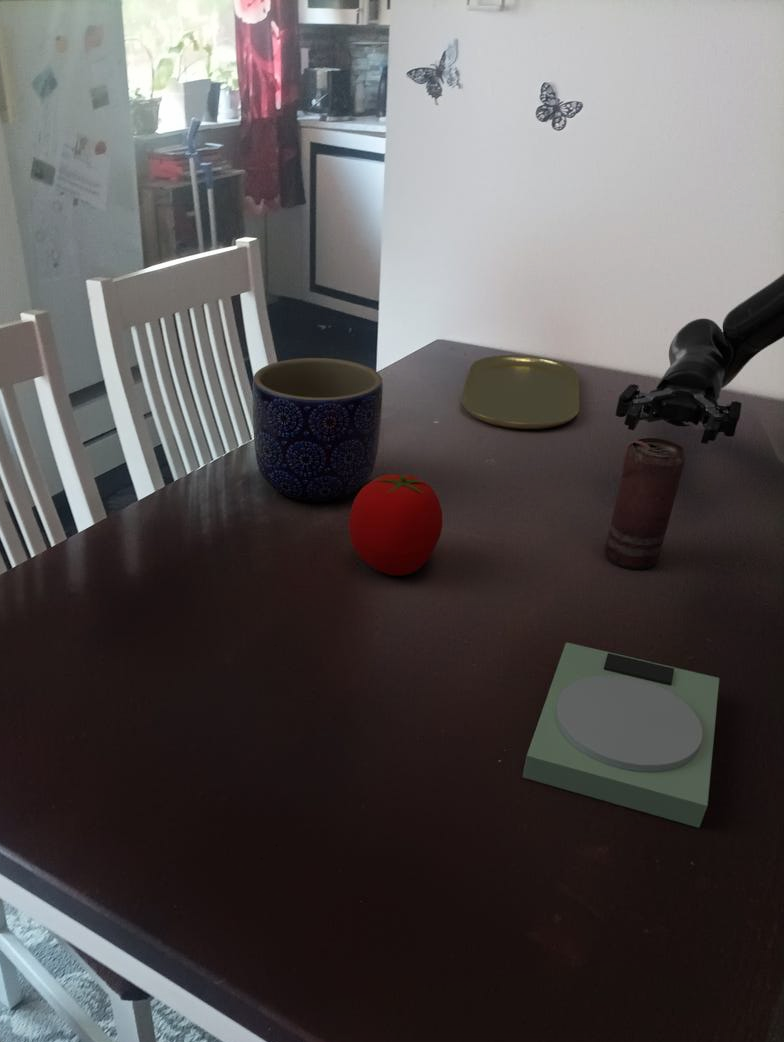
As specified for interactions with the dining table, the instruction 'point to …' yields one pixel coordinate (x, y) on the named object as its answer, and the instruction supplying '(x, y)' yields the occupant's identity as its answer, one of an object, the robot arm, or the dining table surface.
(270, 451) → the planter
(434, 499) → the tomato
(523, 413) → the serving platter
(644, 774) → the scale
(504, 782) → the dining table surface
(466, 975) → the dining table surface
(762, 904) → the dining table surface
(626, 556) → the can
